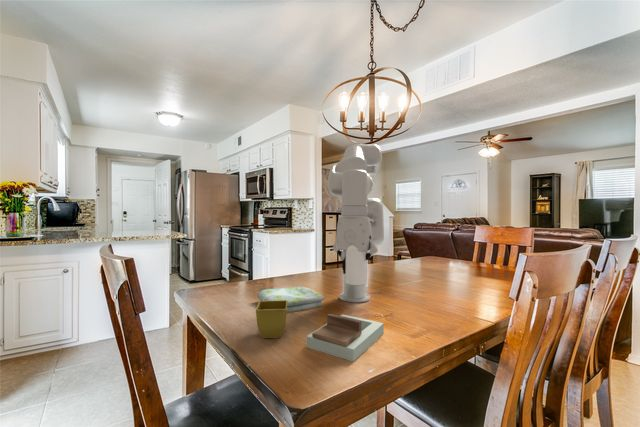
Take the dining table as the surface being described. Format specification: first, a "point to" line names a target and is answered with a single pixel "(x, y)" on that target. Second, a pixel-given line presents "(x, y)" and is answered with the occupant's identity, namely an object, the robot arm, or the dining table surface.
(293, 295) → the towel
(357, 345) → the well board
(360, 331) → the lid
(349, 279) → the can
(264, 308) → the flower pot
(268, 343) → the dining table surface
